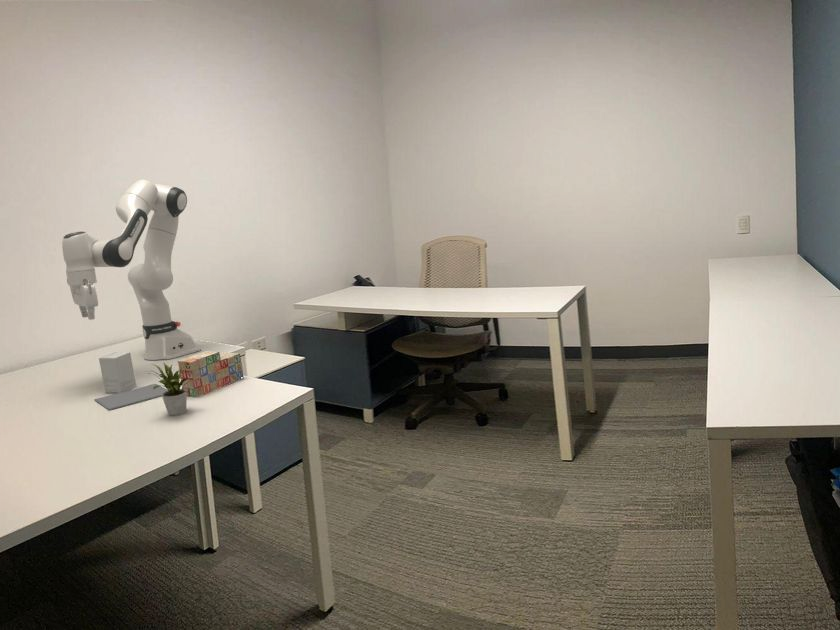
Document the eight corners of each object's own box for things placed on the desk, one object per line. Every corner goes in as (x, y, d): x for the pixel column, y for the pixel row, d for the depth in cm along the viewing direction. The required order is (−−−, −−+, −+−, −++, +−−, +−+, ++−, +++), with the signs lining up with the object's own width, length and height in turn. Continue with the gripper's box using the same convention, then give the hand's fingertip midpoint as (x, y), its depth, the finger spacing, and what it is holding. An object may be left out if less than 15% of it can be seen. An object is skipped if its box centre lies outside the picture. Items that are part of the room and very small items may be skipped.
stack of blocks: (231, 377, 221) (226, 343, 219) (244, 378, 218) (239, 344, 216) (182, 396, 203) (177, 360, 201) (196, 398, 200) (190, 361, 198)
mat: (155, 384, 218) (155, 383, 218) (172, 393, 206) (172, 392, 206) (94, 400, 205) (94, 399, 205) (109, 410, 193) (108, 409, 193)
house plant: (137, 419, 183) (127, 366, 180) (170, 403, 196) (162, 353, 192) (175, 422, 178) (166, 368, 175) (207, 406, 190) (199, 355, 187)
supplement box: (137, 386, 218) (131, 352, 215) (121, 393, 211) (114, 357, 208) (120, 386, 220) (114, 351, 218) (104, 392, 213) (97, 357, 211)
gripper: (99, 278, 209) (105, 319, 211) (85, 277, 224) (91, 314, 226) (78, 281, 205) (85, 322, 207) (65, 279, 220) (72, 317, 222)
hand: (88, 318), depth 217 cm, fingers open, 8 cm apart
